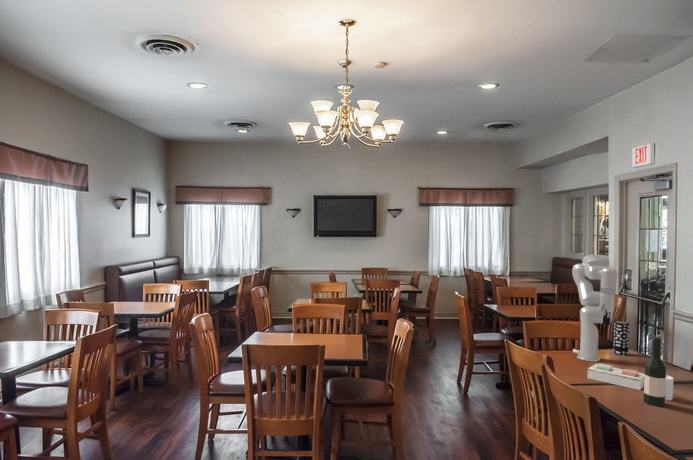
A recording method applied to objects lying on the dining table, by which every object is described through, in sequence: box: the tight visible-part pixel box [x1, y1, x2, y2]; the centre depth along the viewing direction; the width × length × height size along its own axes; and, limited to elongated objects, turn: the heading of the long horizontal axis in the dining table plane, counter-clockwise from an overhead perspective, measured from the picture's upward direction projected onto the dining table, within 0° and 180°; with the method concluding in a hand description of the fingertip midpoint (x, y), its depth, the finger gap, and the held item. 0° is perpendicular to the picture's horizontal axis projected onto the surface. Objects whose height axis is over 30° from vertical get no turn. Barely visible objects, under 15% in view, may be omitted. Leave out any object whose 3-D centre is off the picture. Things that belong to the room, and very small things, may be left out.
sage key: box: [596, 363, 613, 372], centre depth 254 cm, size 6×6×3 cm
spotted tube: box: [612, 320, 630, 357], centre depth 306 cm, size 8×8×20 cm
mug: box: [665, 374, 674, 401], centre depth 228 cm, size 12×9×10 cm
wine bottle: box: [643, 335, 667, 407], centre depth 218 cm, size 8×8×30 cm
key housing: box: [586, 363, 645, 391], centre depth 249 cm, size 24×14×5 cm, turn 47°
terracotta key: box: [622, 368, 639, 377], centre depth 245 cm, size 6×6×3 cm
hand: (606, 324), depth 264 cm, fingers closed
